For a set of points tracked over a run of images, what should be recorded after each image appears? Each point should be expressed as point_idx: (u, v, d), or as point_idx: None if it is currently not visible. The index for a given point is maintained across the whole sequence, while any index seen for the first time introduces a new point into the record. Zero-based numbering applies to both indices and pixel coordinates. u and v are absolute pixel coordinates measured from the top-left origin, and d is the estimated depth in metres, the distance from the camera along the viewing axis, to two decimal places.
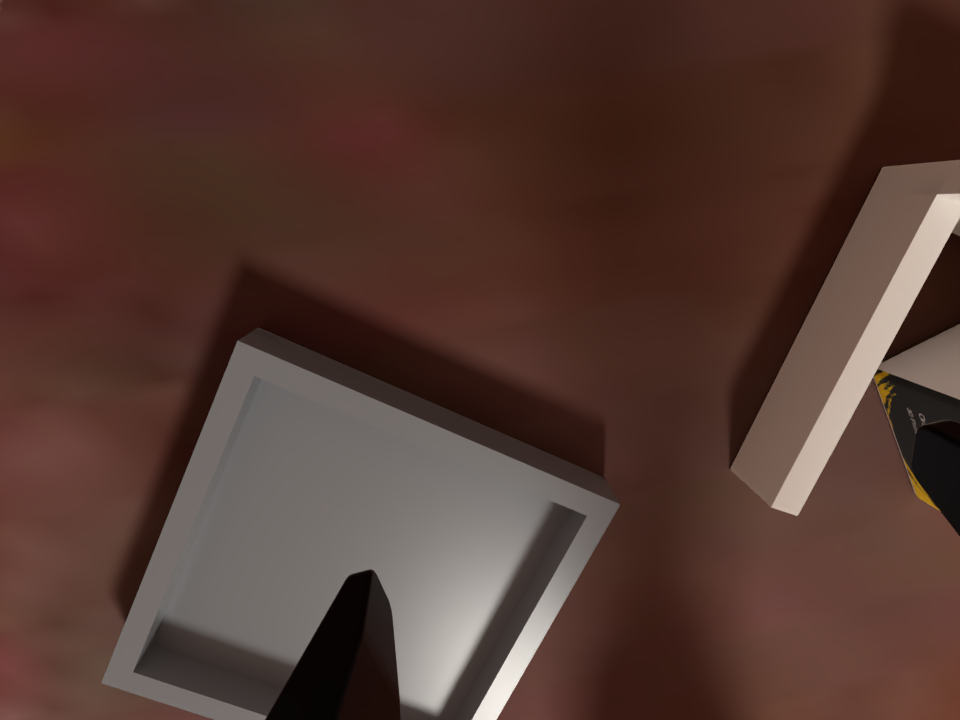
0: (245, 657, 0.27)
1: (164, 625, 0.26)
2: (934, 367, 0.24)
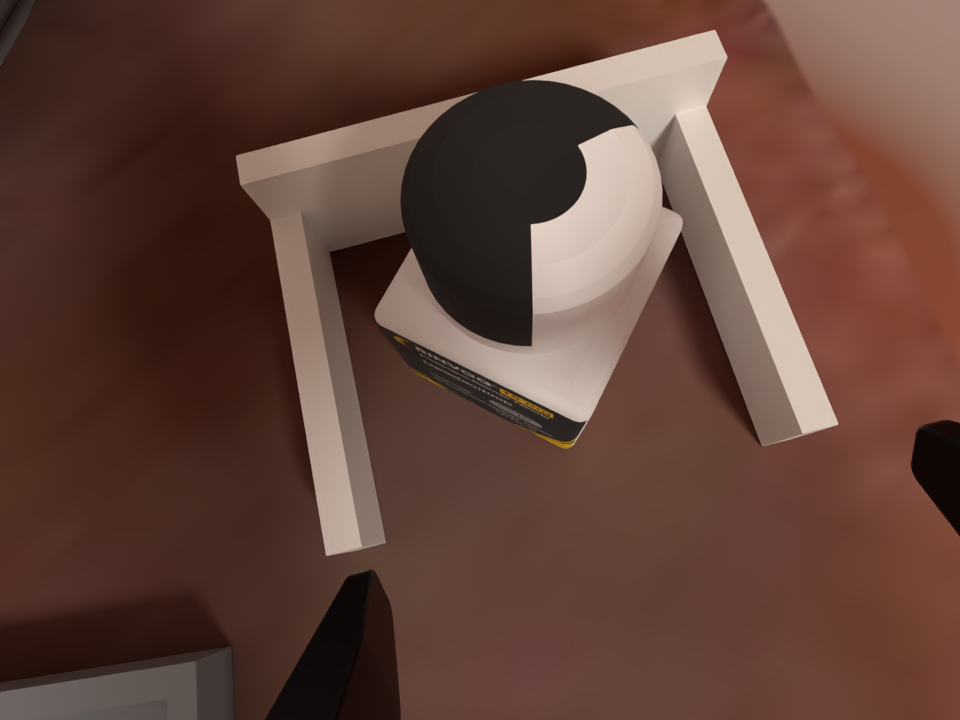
0: None
1: None
2: None
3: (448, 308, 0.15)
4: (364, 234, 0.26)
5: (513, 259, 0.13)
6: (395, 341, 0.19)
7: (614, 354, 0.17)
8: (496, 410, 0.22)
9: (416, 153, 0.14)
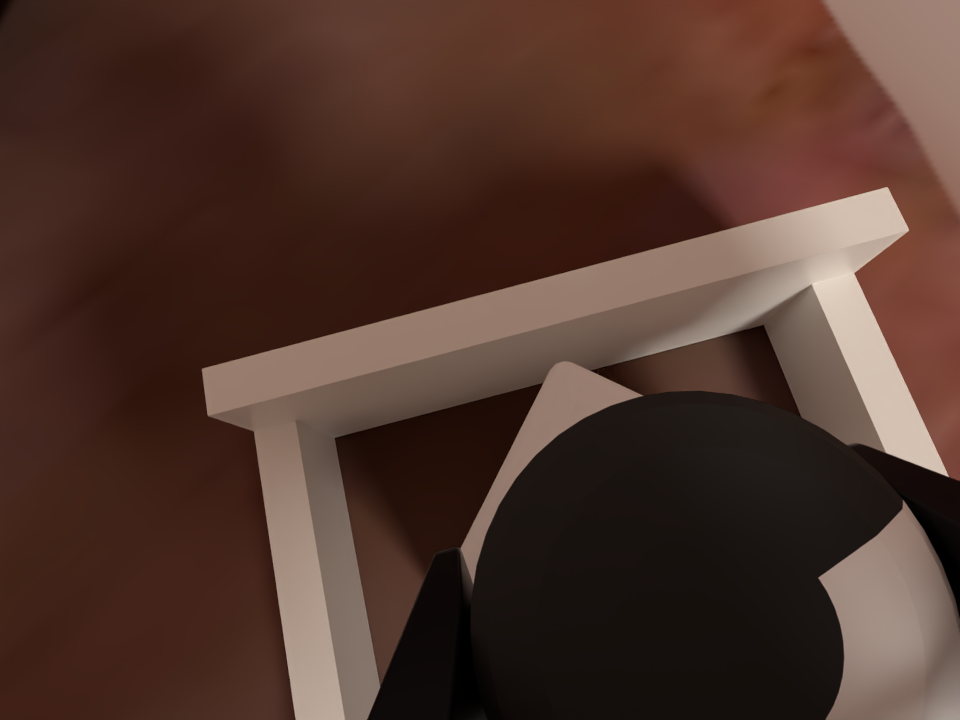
0: None
1: None
2: None
3: None
4: (380, 421, 0.19)
5: None
6: None
7: None
8: None
9: (500, 551, 0.08)
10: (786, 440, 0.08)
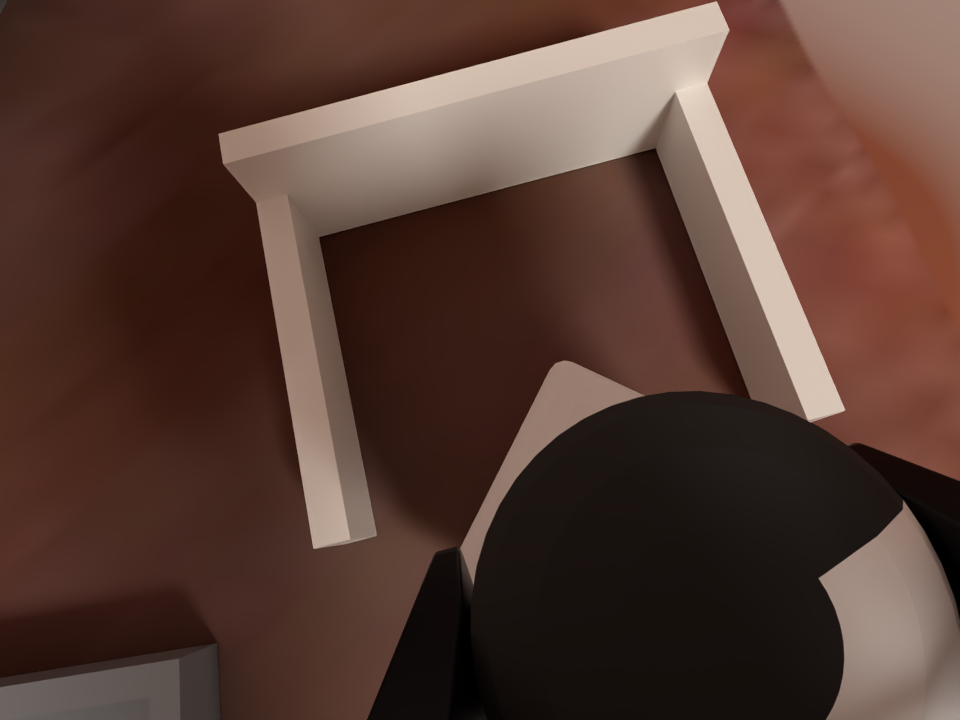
0: None
1: None
2: None
3: None
4: (354, 218, 0.25)
5: None
6: None
7: None
8: None
9: (500, 551, 0.08)
10: (786, 440, 0.08)
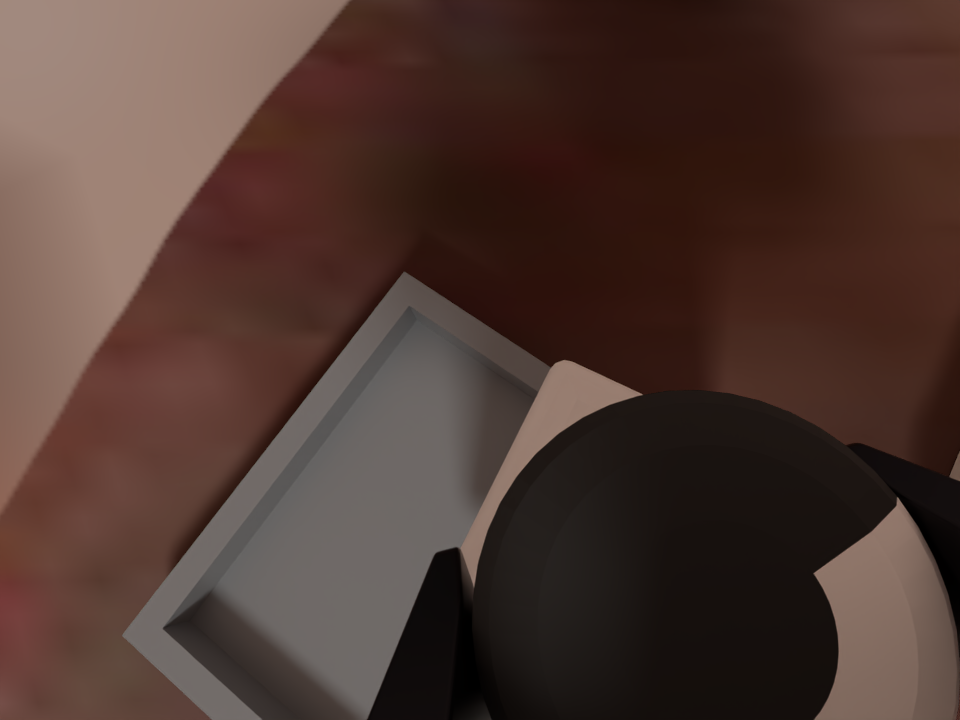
0: (284, 669, 0.21)
1: (212, 597, 0.22)
2: None
3: None
4: None
5: None
6: None
7: None
8: None
9: (501, 548, 0.08)
10: (782, 438, 0.08)
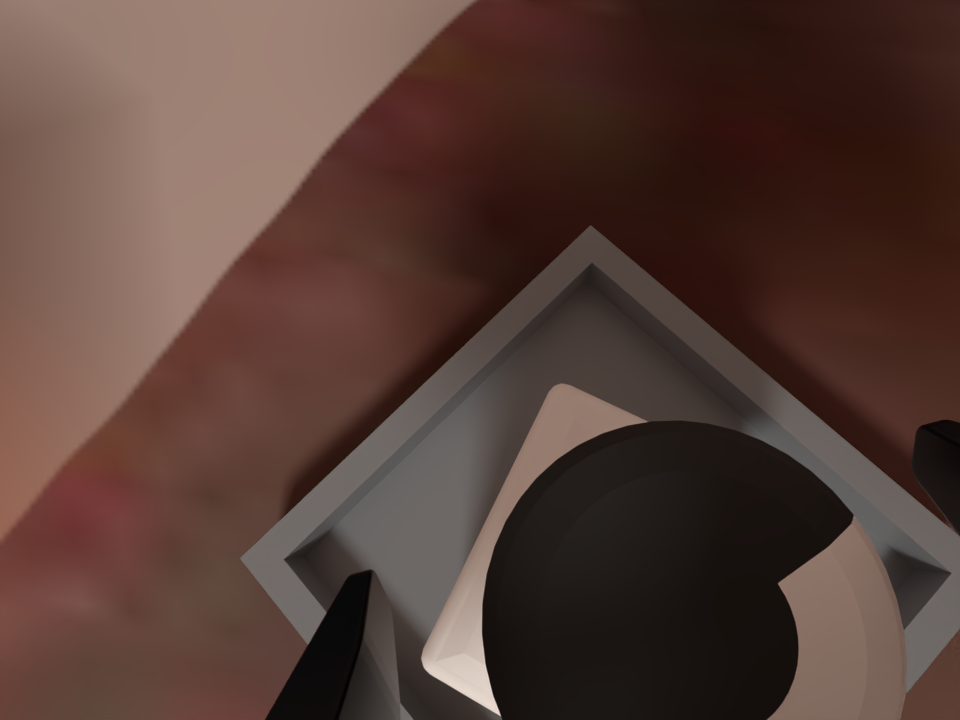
0: (398, 628, 0.20)
1: (330, 537, 0.20)
2: None
3: None
4: None
5: None
6: None
7: None
8: None
9: (507, 562, 0.09)
10: (752, 464, 0.09)
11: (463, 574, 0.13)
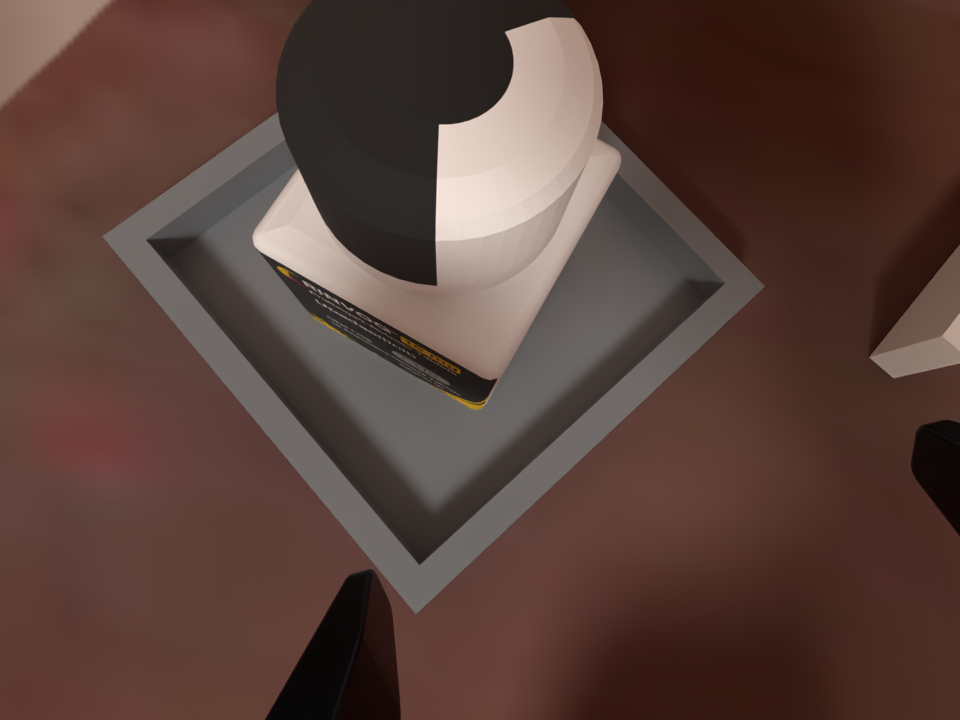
0: (256, 323, 0.21)
1: (196, 243, 0.22)
2: None
3: (336, 231, 0.12)
4: None
5: (414, 167, 0.10)
6: (280, 273, 0.16)
7: (534, 304, 0.15)
8: (401, 363, 0.20)
9: (299, 22, 0.11)
10: None
11: (295, 172, 0.15)
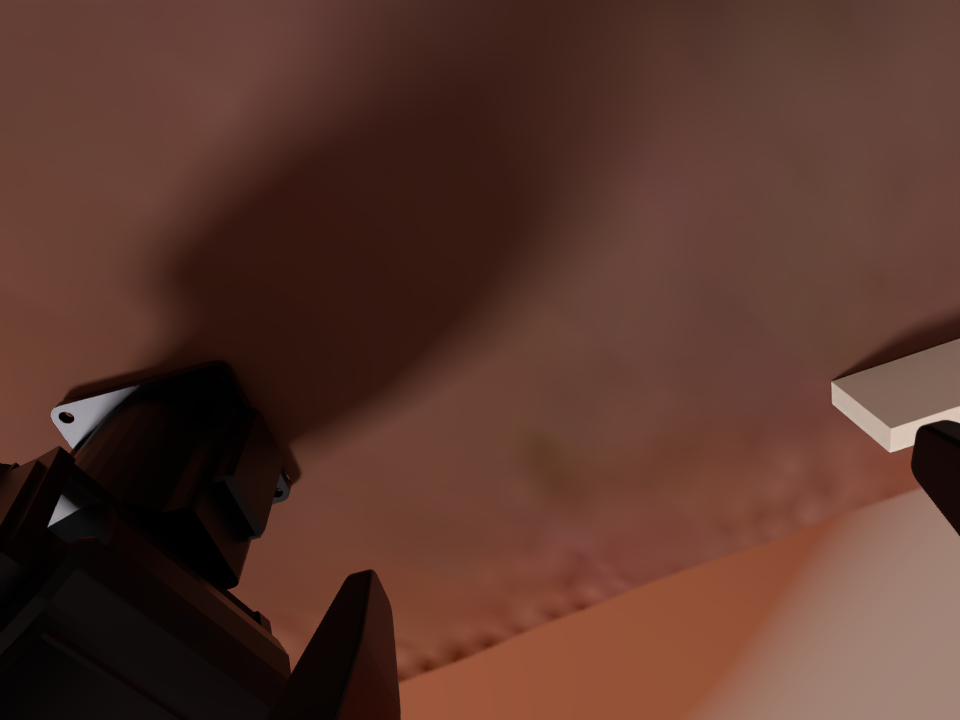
0: None
1: None
2: None
3: None
4: None
5: None
6: None
7: None
8: None
9: None
10: None
11: None
